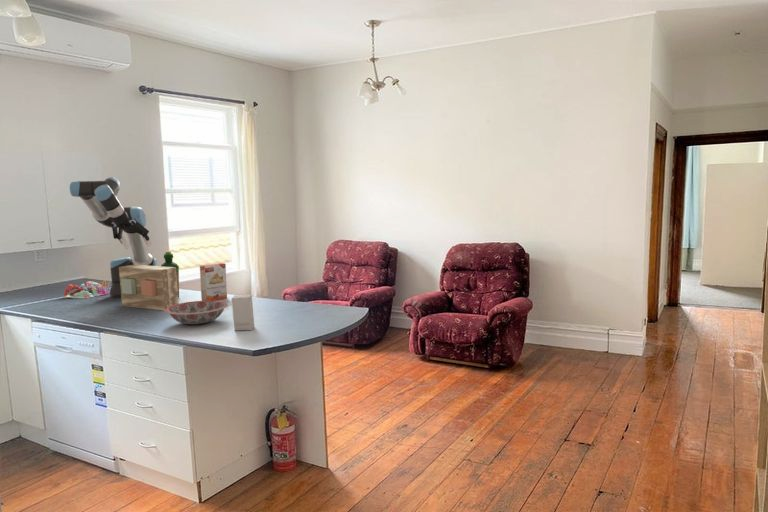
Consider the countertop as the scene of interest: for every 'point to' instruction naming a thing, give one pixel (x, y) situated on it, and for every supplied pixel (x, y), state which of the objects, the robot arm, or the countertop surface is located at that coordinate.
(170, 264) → the bottle
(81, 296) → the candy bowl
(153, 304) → the block
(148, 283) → the terracotta button
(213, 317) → the ceramic bowl
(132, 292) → the sage button
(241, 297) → the skincare box
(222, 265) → the cracker box
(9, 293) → the countertop surface
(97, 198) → the robot arm
